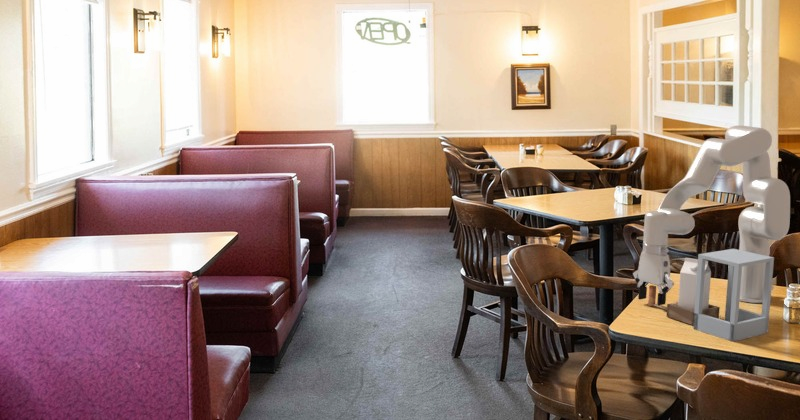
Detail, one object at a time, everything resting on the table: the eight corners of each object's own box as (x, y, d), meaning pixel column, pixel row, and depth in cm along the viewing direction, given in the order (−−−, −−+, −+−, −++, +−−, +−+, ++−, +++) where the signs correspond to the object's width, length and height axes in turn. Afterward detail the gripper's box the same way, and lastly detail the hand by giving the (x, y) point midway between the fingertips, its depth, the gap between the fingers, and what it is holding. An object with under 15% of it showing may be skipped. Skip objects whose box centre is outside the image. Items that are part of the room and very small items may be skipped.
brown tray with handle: (661, 302, 283) (662, 283, 282) (718, 319, 264) (720, 299, 263) (636, 307, 277) (637, 287, 276) (693, 325, 258) (695, 304, 257)
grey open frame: (727, 320, 264) (733, 248, 260) (767, 333, 252) (774, 257, 248) (693, 328, 256) (698, 254, 252) (732, 341, 244) (739, 263, 240)
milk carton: (685, 313, 270) (689, 255, 267) (707, 318, 266) (712, 259, 263) (677, 318, 265) (680, 259, 262) (699, 323, 261) (703, 262, 257)
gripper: (684, 253, 271) (680, 306, 274) (642, 243, 285) (639, 294, 288) (668, 255, 267) (664, 309, 270) (626, 245, 282) (623, 297, 284)
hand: (651, 301), depth 279 cm, fingers open, 7 cm apart
